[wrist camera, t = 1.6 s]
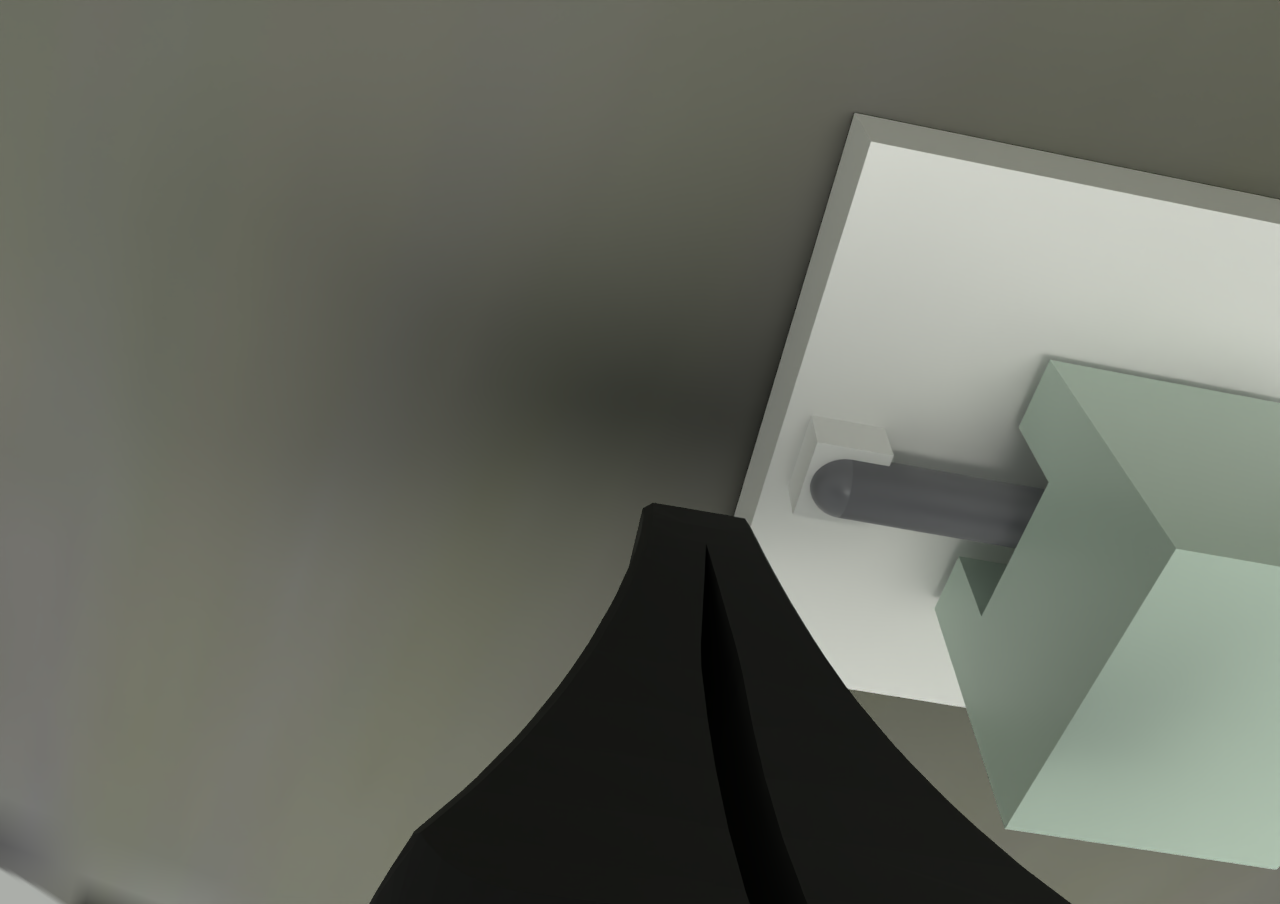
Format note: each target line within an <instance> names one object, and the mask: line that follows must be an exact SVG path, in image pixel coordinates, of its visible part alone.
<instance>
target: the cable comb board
mask: <svg viewBox="0 0 1280 904" xmlns="http://www.w3.org/2000/svg"><path fill="white" fill-rule="evenodd" d="M1050 360H1054V361H1059V362H1064V363H1070V364H1075V365H1080V366H1086V367H1091V368H1096V369H1101V370H1107V371H1112V372H1117V373H1123V374H1128V375H1133V376H1139V377H1144V378H1149V379H1155V380H1160V381H1165V382H1171V383H1176V384H1181V385H1187V386H1192V387H1197V388H1203V389H1208V390H1213V391H1218V392H1224V393H1229V394H1234V395H1240V396H1245V397H1250V398H1256V399H1261V400H1266V401H1272V402H1277V403H1280V200H1279V199H1275V198H1270V197H1265V196H1260V195H1255V194H1250V193H1245V192H1240V191H1235V190H1230V189H1226V188H1221V187H1216V186H1211V185H1206V184H1201V183H1196V182H1191V181H1186V180H1182V179H1177V178H1172V177H1167V176H1162V175H1157V174H1152V173H1147V172H1142V171H1138V170H1133V169H1128V168H1123V167H1118V166H1113V165H1108V164H1103V163H1098V162H1094V161H1089V160H1084V159H1079V158H1074V157H1069V156H1064V155H1059V154H1054V153H1050V152H1045V151H1040V150H1035V149H1030V148H1025V147H1020V146H1015V145H1010V144H1005V143H1001V142H996V141H991V140H986V139H981V138H976V137H971V136H966V135H961V134H957V133H952V132H947V131H942V130H937V129H932V128H927V127H922V126H917V125H913V124H908V123H903V122H898V121H893V120H888V119H883V118H878V117H873V116H869V115H864V114H859V113H854V116H853V120H852V123H851V126H850V130H849V133H848V136H847V140H846V143H845V146H844V150H843V153H842V156H841V160H840V163H839V166H838V170H837V173H836V176H835V180H834V183H833V186H832V190H831V193H830V196H829V200H828V203H827V206H826V210H825V213H824V217H823V220H822V223H821V227H820V230H819V233H818V237H817V240H816V243H815V247H814V250H813V253H812V257H811V260H810V263H809V267H808V270H807V273H806V277H805V280H804V283H803V287H802V290H801V293H800V297H799V300H798V303H797V307H796V310H795V313H794V317H793V320H792V324H791V327H790V330H789V334H788V337H787V340H786V344H785V347H784V350H783V354H782V357H781V360H780V364H779V367H778V370H777V374H776V377H775V380H774V384H773V387H772V390H771V394H770V397H769V400H768V404H767V407H766V410H765V414H764V417H763V421H762V424H761V427H760V431H759V434H758V437H757V441H756V444H755V447H754V451H753V454H752V457H751V461H750V464H749V467H748V471H747V474H746V477H745V481H744V484H743V487H742V491H741V494H740V497H739V501H738V504H737V507H736V511H735V514H734V517H740V518H745V519H746V521H747V522H748V524H749V525H750V527H751V529H752V531H753V533H754V535H755V536H756V538H757V540H758V542H759V544H760V546H761V548H762V550H763V552H764V554H765V556H766V558H767V560H768V562H769V563H770V565H771V567H772V569H773V571H774V573H775V574H776V576H777V578H778V580H779V582H780V584H781V585H782V587H783V589H784V591H785V592H786V594H787V596H788V598H789V599H790V601H791V603H792V605H793V606H794V608H795V609H796V611H797V613H798V614H799V616H800V618H801V619H802V621H803V623H804V624H805V626H806V627H807V629H808V631H809V632H810V634H811V636H812V637H813V639H814V640H815V642H816V643H817V645H818V646H819V648H820V649H821V651H822V653H823V654H824V656H825V657H826V659H827V660H828V661H829V663H830V664H831V666H832V667H833V669H834V670H835V671H836V673H837V674H838V676H839V677H840V679H841V680H842V681H843V683H844V684H845V686H846V687H847V688H848V689H852V690H859V691H865V692H871V693H877V694H884V695H890V696H896V697H902V698H909V699H915V700H921V701H928V702H934V703H940V704H946V705H953V706H959V707H965V708H966V706H965V703H964V700H963V696H962V693H961V690H960V687H959V684H958V681H957V678H956V675H955V671H954V668H953V665H952V662H951V659H950V656H949V653H948V650H947V646H946V643H945V640H944V637H943V634H942V631H941V628H940V625H939V621H938V618H937V615H936V612H935V606H936V604H937V602H938V600H939V598H940V596H941V594H942V591H943V589H944V587H945V585H946V583H947V581H948V578H949V576H950V574H951V572H952V570H953V568H954V565H955V563H956V561H957V559H958V557H959V556H961V557H967V558H972V559H978V560H984V561H990V562H996V563H1002V564H1007V565H1008V563H1009V561H1010V559H1011V557H1012V555H1013V553H1014V551H1015V549H1016V547H1017V545H1018V543H1019V541H1020V539H1021V537H1022V535H1023V533H1024V531H1025V529H1026V527H1027V525H1028V523H1029V521H1030V519H1031V517H1032V515H1033V513H1034V511H1035V509H1036V507H1037V505H1038V503H1039V501H1040V499H1041V497H1042V495H1043V493H1044V491H1045V489H1046V487H1047V485H1048V483H1049V482H1048V480H1047V478H1046V477H1045V475H1044V473H1043V471H1042V469H1041V468H1040V466H1039V464H1038V462H1037V460H1036V458H1035V457H1034V455H1033V453H1032V451H1031V449H1030V447H1029V446H1028V444H1027V442H1026V440H1025V438H1024V436H1023V435H1022V433H1021V431H1020V429H1019V425H1020V423H1021V421H1022V419H1023V417H1024V415H1025V412H1026V410H1027V408H1028V406H1029V404H1030V402H1031V399H1032V397H1033V395H1034V393H1035V391H1036V389H1037V387H1038V384H1039V382H1040V380H1041V378H1042V376H1043V374H1044V371H1045V369H1046V367H1047V365H1048V363H1049V361H1050Z"/></svg>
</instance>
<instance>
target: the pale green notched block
mask: <svg viewBox="0 0 1280 904" xmlns="http://www.w3.org/2000/svg"><path fill="white" fill-rule="evenodd" d="M1019 429H1020V431H1021V433H1022V435H1023V436H1024V438H1025V440H1026V442H1027V444H1028V446H1029V447H1030V449H1031V451H1032V453H1033V455H1034V457H1035V458H1036V460H1037V462H1038V464H1039V466H1040V468H1041V469H1042V471H1043V473H1044V475H1045V477H1046V478H1047V480H1048V482H1049V483H1048V485H1047V487H1046V489H1045V491H1044V493H1043V495H1042V497H1041V499H1040V501H1039V503H1038V505H1037V507H1036V509H1035V511H1034V513H1033V515H1032V517H1031V519H1030V521H1029V523H1028V525H1027V527H1026V529H1025V531H1024V533H1023V535H1022V537H1021V539H1020V541H1019V543H1018V545H1017V547H1016V549H1015V551H1014V553H1013V555H1012V557H1011V559H1010V561H1009V563H1008V565H1007V564H1002V563H996V562H990V561H984V560H978V559H972V558H967V557H961V556H959V557H958V559H957V561H956V563H955V565H954V568H953V570H952V572H951V574H950V576H949V578H948V581H947V583H946V585H945V587H944V589H943V591H942V594H941V596H940V598H939V600H938V602H937V604H936V606H935V612H936V615H937V618H938V621H939V625H940V628H941V631H942V634H943V637H944V640H945V643H946V646H947V650H948V653H949V656H950V659H951V662H952V665H953V668H954V671H955V675H956V678H957V681H958V684H959V687H960V690H961V693H962V696H963V700H964V703H965V706H966V709H967V712H968V715H969V718H970V721H971V725H972V728H973V731H974V734H975V737H976V740H977V743H978V747H979V750H980V753H981V756H982V759H983V762H984V765H985V768H986V772H987V775H988V778H989V781H990V784H991V787H992V790H993V793H994V797H995V800H996V803H997V806H998V809H999V812H1000V815H1001V818H1002V822H1003V825H1004V828H1005V829H1009V830H1016V831H1023V832H1029V833H1036V834H1043V835H1049V836H1056V837H1063V838H1069V839H1076V840H1083V841H1089V842H1096V843H1103V844H1109V845H1116V846H1122V847H1129V848H1136V849H1142V850H1149V851H1156V852H1162V853H1169V854H1176V855H1182V856H1189V857H1196V858H1202V859H1209V860H1216V861H1222V862H1229V863H1236V864H1242V865H1249V866H1256V867H1262V868H1269V869H1275V870H1277V868H1278V867H1279V866H1280V403H1277V402H1272V401H1266V400H1261V399H1256V398H1250V397H1245V396H1240V395H1234V394H1229V393H1224V392H1218V391H1213V390H1208V389H1203V388H1197V387H1192V386H1187V385H1181V384H1176V383H1171V382H1165V381H1160V380H1155V379H1149V378H1144V377H1139V376H1133V375H1128V374H1123V373H1117V372H1112V371H1107V370H1101V369H1096V368H1091V367H1086V366H1080V365H1075V364H1070V363H1064V362H1059V361H1054V360H1050V361H1049V363H1048V365H1047V367H1046V369H1045V371H1044V374H1043V376H1042V378H1041V380H1040V382H1039V384H1038V387H1037V389H1036V391H1035V393H1034V395H1033V397H1032V399H1031V402H1030V404H1029V406H1028V408H1027V410H1026V412H1025V415H1024V417H1023V419H1022V421H1021V423H1020V425H1019Z"/></svg>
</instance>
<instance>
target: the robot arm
mask: <svg viewBox="0 0 1280 904" xmlns="http://www.w3.org/2000/svg"><path fill="white" fill-rule="evenodd" d="M370 904H1071V903H1070V902H1068V901H1067V900H1066V899H1064V898H1063V897H1062V896H1060V895H1059V894H1058V893H1056V892H1055V891H1054V890H1052V889H1051V888H1050V887H1048V886H1047V885H1046V884H1044V883H1043V882H1042V881H1040V880H1039V879H1038V878H1037V877H1035V876H1034V875H1033V874H1031V873H1030V872H1029V871H1027V870H1026V869H1025V868H1024V867H1022V866H1021V865H1020V864H1019V863H1017V862H1016V861H1015V860H1014V859H1013V858H1012V857H1010V856H1009V855H1008V854H1007V853H1006V852H1005V851H1003V850H1002V849H1001V848H1000V847H999V846H998V845H996V844H995V843H994V842H993V841H992V840H991V839H989V838H988V837H987V836H986V835H985V834H984V833H983V832H981V831H980V830H979V829H978V828H977V827H976V826H975V825H973V824H972V823H971V822H970V821H969V820H968V819H967V818H966V817H965V816H964V815H963V814H962V813H960V812H959V811H958V810H957V809H956V808H955V807H954V806H953V805H952V804H951V803H950V802H949V801H948V800H947V799H946V798H945V797H944V796H943V795H942V794H941V793H940V792H939V791H938V790H937V789H936V788H935V787H934V786H933V785H932V784H931V783H930V782H929V781H928V780H927V779H926V778H925V777H924V776H923V775H922V774H921V773H920V772H919V771H918V770H917V769H916V768H915V767H914V766H913V765H912V764H911V763H910V762H909V761H908V760H907V759H906V758H905V756H904V755H903V754H902V753H901V752H900V751H899V750H898V749H897V748H896V747H895V746H894V744H893V743H892V742H891V741H890V740H889V739H888V738H887V736H886V735H885V734H884V733H883V732H882V730H881V729H880V728H879V727H878V726H877V724H876V723H875V722H874V721H873V720H872V718H871V717H870V716H869V715H868V714H867V713H866V711H865V710H864V709H863V708H862V707H861V705H860V704H859V703H858V702H857V700H856V699H855V698H854V696H853V695H852V694H851V692H850V691H849V690H848V688H847V687H846V686H845V684H844V683H843V681H842V680H841V679H840V677H839V676H838V674H837V673H836V671H835V670H834V669H833V667H832V666H831V664H830V663H829V661H828V660H827V659H826V657H825V656H824V654H823V653H822V651H821V649H820V648H819V646H818V645H817V643H816V642H815V640H814V639H813V637H812V636H811V634H810V632H809V631H808V629H807V627H806V626H805V624H804V623H803V621H802V619H801V618H800V616H799V614H798V613H797V611H796V609H795V608H794V606H793V605H792V603H791V601H790V599H789V598H788V596H787V594H786V592H785V591H784V589H783V587H782V585H781V584H780V582H779V580H778V578H777V576H776V574H775V573H774V571H773V569H772V567H771V565H770V563H769V562H768V560H767V558H766V556H765V554H764V552H763V550H762V548H761V546H760V544H759V542H758V540H757V538H756V536H755V535H754V533H753V531H752V529H751V527H750V525H749V524H748V522H747V521H746V519H745V518H740V517H734V516H728V515H722V514H716V513H710V512H704V511H698V510H692V509H687V508H681V507H675V506H669V505H663V504H657V503H652V504H650V505H648V506H646V507H645V508H643V510H642V514H641V518H640V522H639V527H638V531H637V535H636V539H635V544H634V548H633V552H632V556H631V560H630V565H629V568H628V570H627V572H626V574H625V577H624V579H623V581H622V583H621V585H620V587H619V590H618V592H617V594H616V596H615V598H614V600H613V602H612V604H611V606H610V607H609V609H608V611H607V613H606V614H605V616H604V618H603V619H602V621H601V623H600V625H599V626H598V628H597V630H596V631H595V633H594V635H593V637H592V638H591V640H590V642H589V643H588V645H587V646H586V648H585V649H584V651H583V652H582V654H581V655H580V657H579V658H578V660H577V661H576V663H575V664H574V666H573V667H572V668H571V670H570V671H569V673H568V674H567V675H566V677H565V678H564V679H563V681H562V682H561V684H560V685H559V686H558V688H557V689H556V690H555V692H554V693H553V694H552V695H551V696H550V698H549V699H548V700H547V701H546V703H545V704H544V705H543V706H542V708H541V709H540V710H539V711H538V712H537V714H536V715H535V716H534V717H533V719H532V720H531V721H530V722H529V723H528V724H527V726H526V727H525V728H524V729H523V730H522V731H521V732H520V733H519V735H518V736H517V737H516V738H515V739H514V740H513V741H512V742H511V743H510V744H509V745H508V746H507V747H506V748H505V749H504V750H503V751H502V752H501V753H500V754H499V755H498V756H497V757H496V758H495V759H494V760H493V761H492V762H491V763H490V764H489V765H488V766H487V767H486V768H485V769H484V770H483V771H482V772H481V773H480V774H479V776H478V777H477V778H476V779H474V780H473V781H472V782H471V783H470V784H469V785H468V786H467V787H466V788H465V789H464V790H462V791H461V792H460V793H459V794H458V795H457V796H455V797H454V798H453V799H452V800H451V801H450V802H448V803H447V804H446V805H445V806H444V807H442V808H441V809H440V810H439V811H438V812H437V813H435V814H434V815H433V816H432V817H431V818H430V819H428V820H427V821H426V822H425V823H424V824H422V825H421V826H420V827H419V828H418V829H417V830H415V831H414V832H413V834H412V836H411V838H410V839H409V841H408V842H407V844H406V845H405V847H404V848H403V850H402V851H401V853H400V854H399V856H398V858H397V859H396V861H395V862H394V864H393V865H392V867H391V868H390V870H389V872H388V873H387V875H386V876H385V878H384V880H383V881H382V883H381V885H380V886H379V888H378V890H377V891H376V893H375V895H374V896H373V898H372V900H371V902H370Z"/></svg>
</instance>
